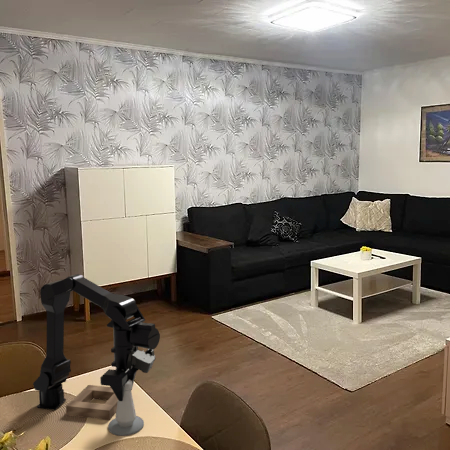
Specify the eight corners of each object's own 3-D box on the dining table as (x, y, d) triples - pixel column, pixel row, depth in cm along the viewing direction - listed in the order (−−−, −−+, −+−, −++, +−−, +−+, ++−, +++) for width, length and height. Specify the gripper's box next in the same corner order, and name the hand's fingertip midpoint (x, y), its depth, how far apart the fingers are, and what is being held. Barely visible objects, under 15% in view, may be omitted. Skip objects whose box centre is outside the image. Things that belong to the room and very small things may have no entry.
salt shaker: (131, 430, 131) (130, 386, 129) (112, 428, 132) (110, 384, 131) (139, 419, 137) (138, 377, 135) (120, 417, 138) (119, 375, 136)
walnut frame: (66, 415, 140) (65, 405, 140) (88, 393, 154) (88, 384, 153) (109, 420, 137) (109, 410, 137) (128, 397, 151) (128, 388, 151)
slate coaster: (102, 433, 130) (102, 431, 130) (117, 415, 140) (117, 413, 140) (135, 437, 129) (135, 435, 128) (148, 418, 138) (148, 416, 138)
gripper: (138, 358, 121) (139, 415, 123) (162, 333, 139) (162, 383, 141) (98, 355, 123) (100, 411, 125) (127, 331, 141) (128, 380, 143)
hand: (125, 395), depth 133 cm, fingers open, 6 cm apart
